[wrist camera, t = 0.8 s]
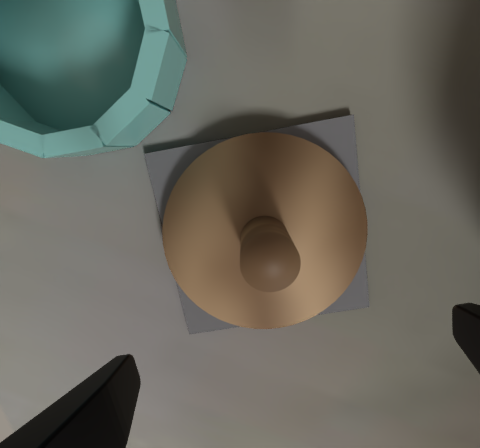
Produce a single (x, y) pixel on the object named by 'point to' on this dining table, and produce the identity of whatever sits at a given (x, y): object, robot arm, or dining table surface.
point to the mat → (320, 132)
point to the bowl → (86, 73)
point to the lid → (264, 230)
